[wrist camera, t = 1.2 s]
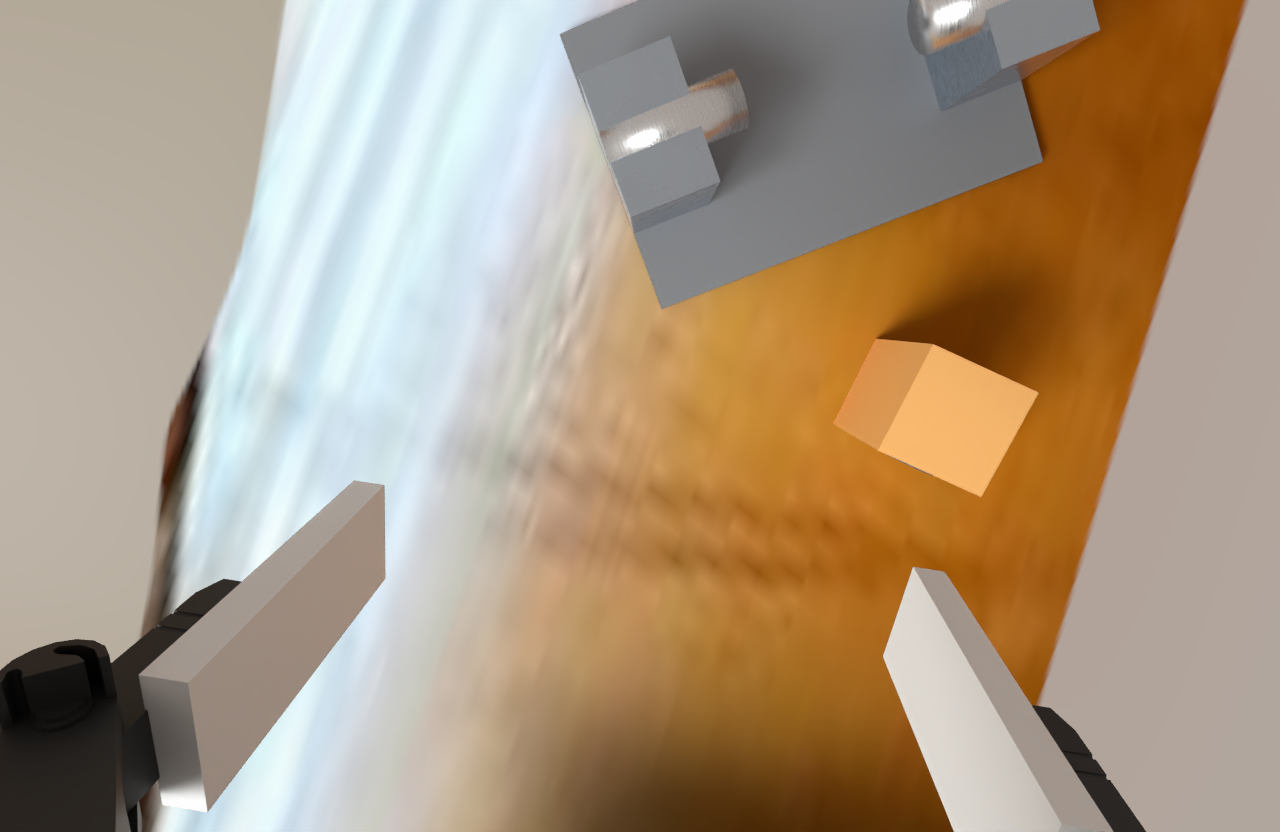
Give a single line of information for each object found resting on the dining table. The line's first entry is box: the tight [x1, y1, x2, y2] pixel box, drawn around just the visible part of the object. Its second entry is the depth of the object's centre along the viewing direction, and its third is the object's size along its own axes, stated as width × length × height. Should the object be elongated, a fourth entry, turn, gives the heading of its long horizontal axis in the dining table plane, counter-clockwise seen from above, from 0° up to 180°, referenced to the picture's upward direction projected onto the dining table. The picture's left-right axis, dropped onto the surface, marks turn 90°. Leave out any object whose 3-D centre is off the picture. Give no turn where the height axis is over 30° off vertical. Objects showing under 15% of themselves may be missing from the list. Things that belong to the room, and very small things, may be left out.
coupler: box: [833, 339, 1038, 497], centre depth 31 cm, size 5×5×7 cm
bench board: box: [560, 0, 1043, 309], centre depth 32 cm, size 14×20×1 cm
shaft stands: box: [578, 0, 1100, 234], centre depth 28 cm, size 6×20×6 cm, turn 111°
